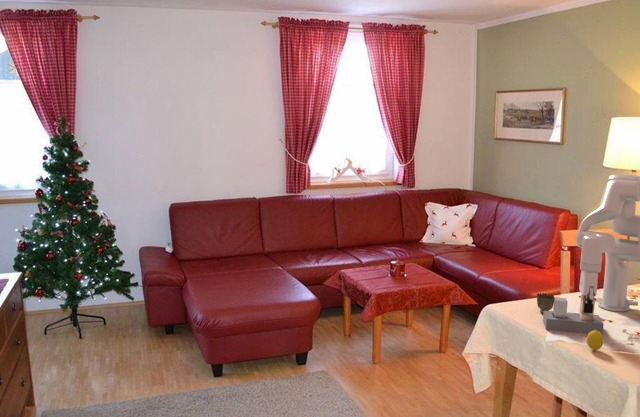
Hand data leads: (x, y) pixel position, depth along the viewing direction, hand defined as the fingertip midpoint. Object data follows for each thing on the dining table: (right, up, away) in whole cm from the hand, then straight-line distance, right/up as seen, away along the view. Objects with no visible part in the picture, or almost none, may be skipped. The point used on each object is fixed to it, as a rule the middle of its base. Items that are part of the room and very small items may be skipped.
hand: (586, 310), depth 234 cm
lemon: (-6, -12, -18) cm, 23 cm away
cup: (-9, -5, +21) cm, 23 cm away
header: (-5, -8, +3) cm, 10 cm away
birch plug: (0, -6, +1) cm, 6 cm away
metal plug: (-10, -7, +4) cm, 13 cm away
